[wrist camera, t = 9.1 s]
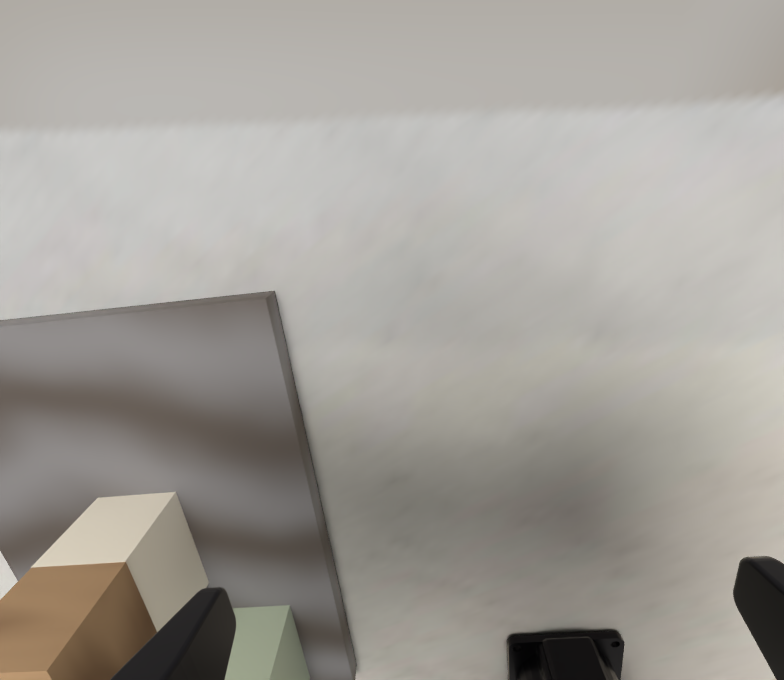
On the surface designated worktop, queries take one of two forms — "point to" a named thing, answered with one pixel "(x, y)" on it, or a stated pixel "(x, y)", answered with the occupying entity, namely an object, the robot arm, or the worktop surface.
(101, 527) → the cream brick
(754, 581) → the robot arm
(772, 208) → the worktop surface
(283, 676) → the sage brick
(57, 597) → the walnut brick
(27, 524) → the slate board
